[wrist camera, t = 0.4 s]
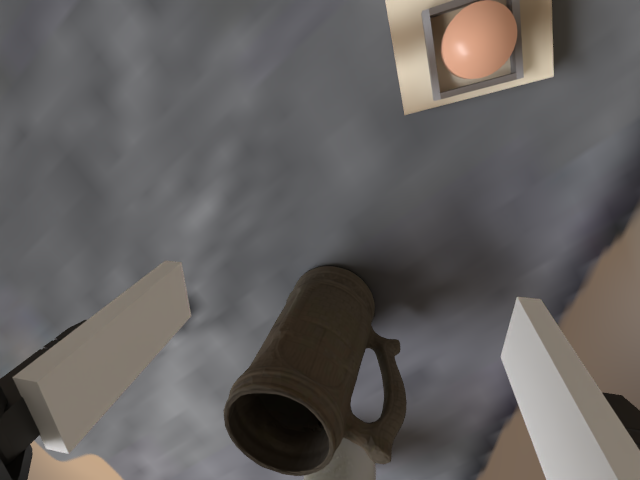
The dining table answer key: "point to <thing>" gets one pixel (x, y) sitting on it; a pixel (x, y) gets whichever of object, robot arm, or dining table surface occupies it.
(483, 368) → the dining table surface
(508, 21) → the terracotta button
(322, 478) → the glass bottle
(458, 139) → the dining table surface
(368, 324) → the beer stein
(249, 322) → the dining table surface
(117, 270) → the dining table surface
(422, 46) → the button panel
